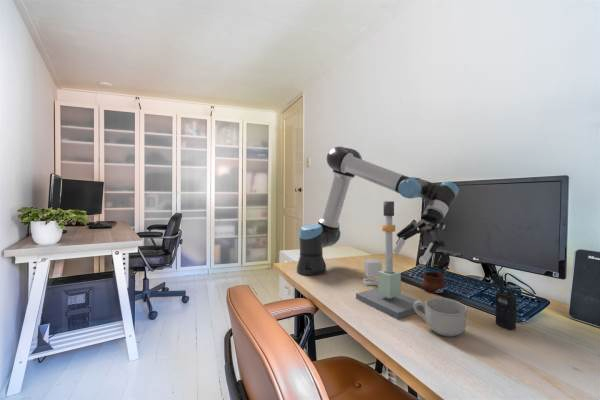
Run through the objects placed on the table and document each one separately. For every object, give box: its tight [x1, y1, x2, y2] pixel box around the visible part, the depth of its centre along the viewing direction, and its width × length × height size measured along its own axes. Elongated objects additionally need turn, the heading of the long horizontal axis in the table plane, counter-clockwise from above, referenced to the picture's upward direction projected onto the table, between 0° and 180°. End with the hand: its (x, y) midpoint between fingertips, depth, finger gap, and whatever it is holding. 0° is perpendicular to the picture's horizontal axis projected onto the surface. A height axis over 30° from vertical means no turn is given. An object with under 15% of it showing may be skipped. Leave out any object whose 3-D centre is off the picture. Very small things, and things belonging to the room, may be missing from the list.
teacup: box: [413, 296, 468, 338], centre depth 83 cm, size 14×11×8 cm
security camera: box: [362, 258, 383, 286], centre depth 125 cm, size 6×7×10 cm
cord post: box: [355, 200, 425, 320], centre depth 102 cm, size 20×14×37 cm
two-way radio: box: [494, 275, 518, 330], centre depth 84 cm, size 6×4×15 cm
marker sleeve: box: [377, 269, 402, 298], centre depth 102 cm, size 6×6×8 cm
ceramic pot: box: [421, 271, 446, 294], centre depth 115 cm, size 18×18×7 cm
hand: (409, 255), depth 107 cm, fingers open, 13 cm apart
